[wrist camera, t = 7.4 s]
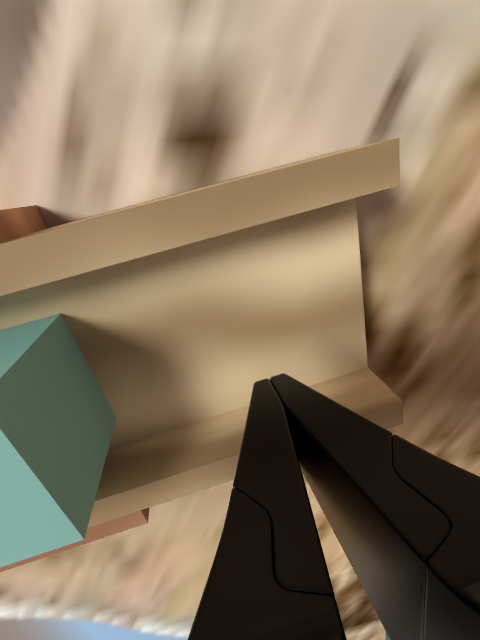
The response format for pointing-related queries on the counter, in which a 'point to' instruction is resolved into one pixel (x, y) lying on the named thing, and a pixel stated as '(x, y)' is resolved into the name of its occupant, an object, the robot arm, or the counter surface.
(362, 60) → the counter surface
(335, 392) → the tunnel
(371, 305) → the counter surface
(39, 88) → the counter surface
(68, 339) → the block
